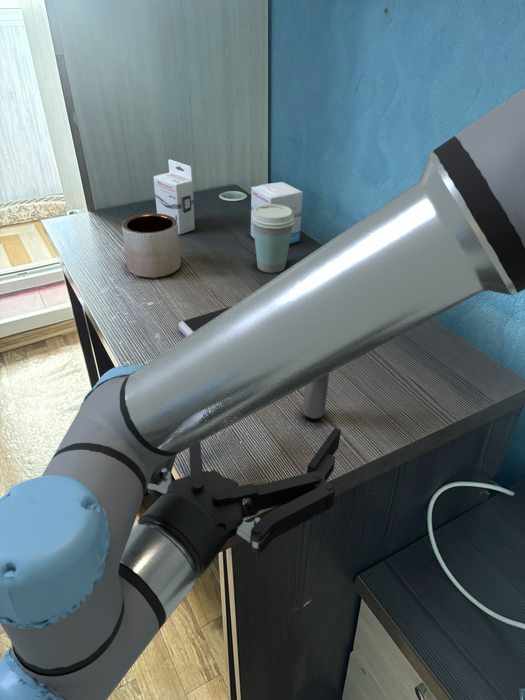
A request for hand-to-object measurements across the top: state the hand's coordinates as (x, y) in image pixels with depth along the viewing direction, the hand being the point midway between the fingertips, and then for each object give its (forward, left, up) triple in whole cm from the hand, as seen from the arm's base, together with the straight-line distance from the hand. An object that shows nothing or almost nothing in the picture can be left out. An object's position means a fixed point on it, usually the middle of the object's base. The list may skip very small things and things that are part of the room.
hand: (284, 414), depth 61 cm
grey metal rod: (+1, -9, -7) cm, 11 cm away
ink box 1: (+63, -44, -7) cm, 77 cm away
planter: (+51, -26, -7) cm, 57 cm away
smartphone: (+20, -23, -7) cm, 31 cm away
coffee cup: (+33, -42, -7) cm, 53 cm away
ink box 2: (+41, -54, -7) cm, 68 cm away
